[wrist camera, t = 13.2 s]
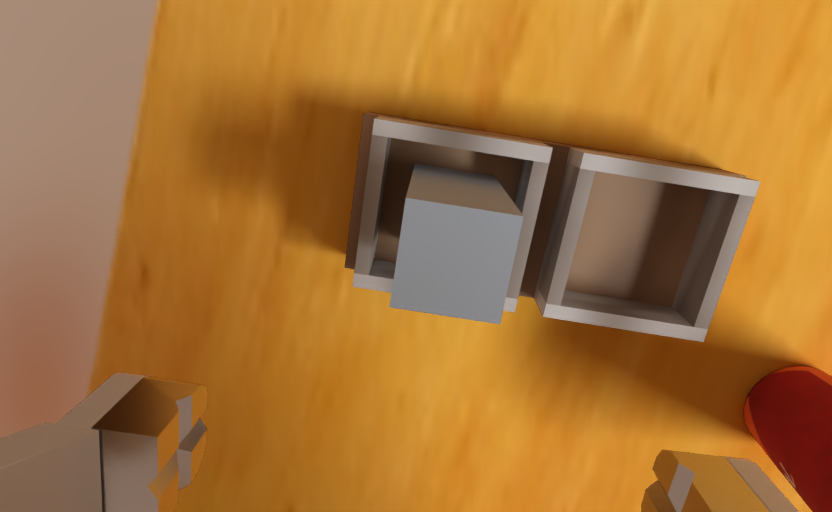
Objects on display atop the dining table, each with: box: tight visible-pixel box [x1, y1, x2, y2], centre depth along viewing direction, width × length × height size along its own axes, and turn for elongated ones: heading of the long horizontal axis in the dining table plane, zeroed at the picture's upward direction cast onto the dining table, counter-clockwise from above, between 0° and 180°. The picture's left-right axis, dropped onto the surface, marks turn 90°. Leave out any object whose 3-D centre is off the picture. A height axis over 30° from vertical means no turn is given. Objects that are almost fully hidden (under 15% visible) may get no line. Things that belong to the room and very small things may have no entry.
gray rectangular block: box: [390, 163, 524, 324], centre depth 22 cm, size 4×4×9 cm
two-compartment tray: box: [345, 112, 760, 342], centre depth 27 cm, size 19×8×4 cm, turn 81°
